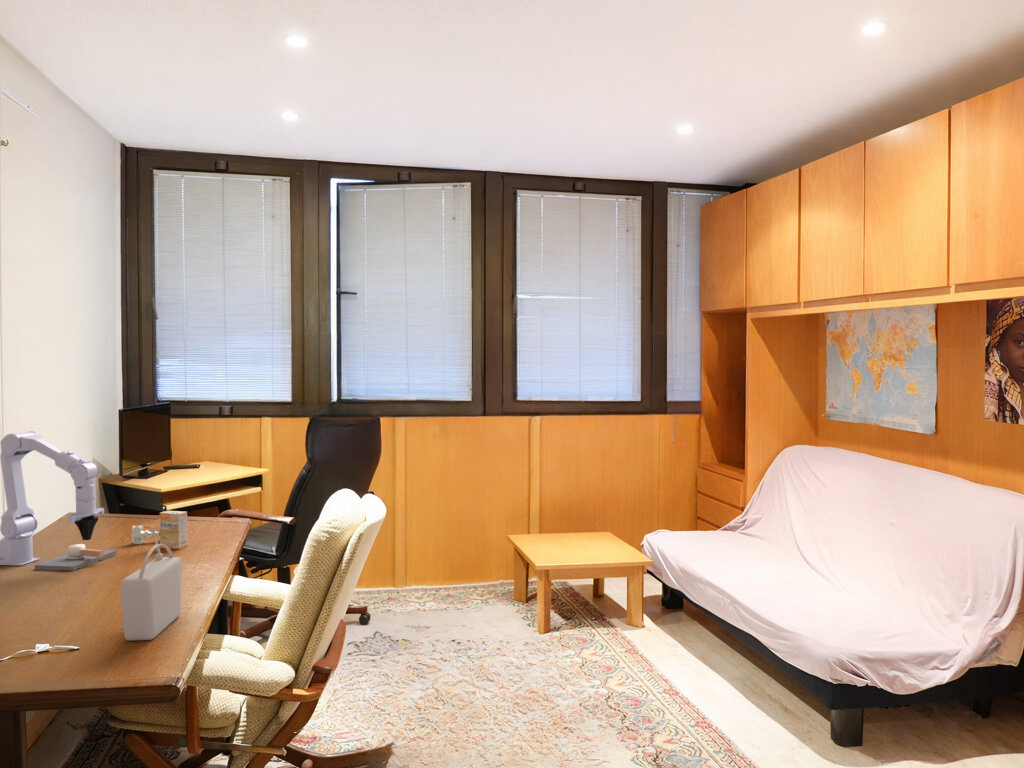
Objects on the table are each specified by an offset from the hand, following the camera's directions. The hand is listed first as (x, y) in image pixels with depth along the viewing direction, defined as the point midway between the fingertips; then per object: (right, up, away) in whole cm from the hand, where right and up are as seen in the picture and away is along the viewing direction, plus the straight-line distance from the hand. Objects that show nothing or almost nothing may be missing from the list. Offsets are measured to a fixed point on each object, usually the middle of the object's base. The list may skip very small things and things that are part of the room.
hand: (86, 539), depth 243 cm
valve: (+6, -8, +30) cm, 32 cm away
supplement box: (+19, -8, +22) cm, 30 cm away
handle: (-2, -6, +2) cm, 7 cm away
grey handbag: (+51, -10, -60) cm, 79 cm away
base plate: (-5, -8, +4) cm, 11 cm away
